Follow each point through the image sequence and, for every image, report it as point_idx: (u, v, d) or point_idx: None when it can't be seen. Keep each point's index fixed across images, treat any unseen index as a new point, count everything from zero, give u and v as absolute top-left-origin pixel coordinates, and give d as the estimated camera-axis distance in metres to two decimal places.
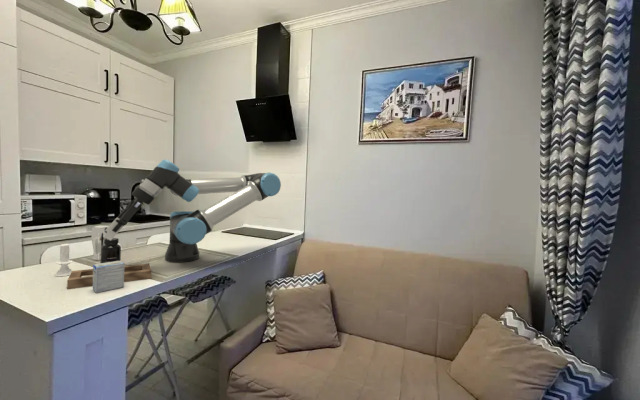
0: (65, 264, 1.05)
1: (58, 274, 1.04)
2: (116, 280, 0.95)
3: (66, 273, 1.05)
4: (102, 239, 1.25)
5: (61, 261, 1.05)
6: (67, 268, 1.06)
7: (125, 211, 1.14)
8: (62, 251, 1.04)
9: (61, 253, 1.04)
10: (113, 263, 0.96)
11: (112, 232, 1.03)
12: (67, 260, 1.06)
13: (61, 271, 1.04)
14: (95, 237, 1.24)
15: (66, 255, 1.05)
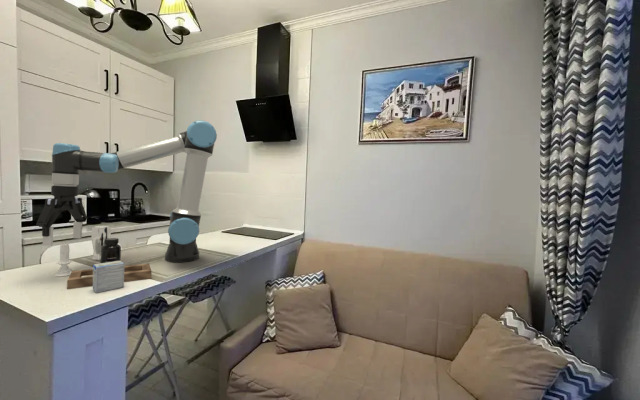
0: (65, 264, 1.05)
1: (58, 274, 1.04)
2: (116, 280, 0.95)
3: (66, 273, 1.05)
4: (102, 239, 1.25)
5: (61, 261, 1.05)
6: (67, 268, 1.06)
7: (71, 213, 1.09)
8: (62, 251, 1.04)
9: (61, 253, 1.04)
10: (113, 263, 0.96)
11: (46, 237, 0.98)
12: (67, 260, 1.06)
13: (61, 271, 1.04)
14: (95, 237, 1.24)
15: (66, 255, 1.05)
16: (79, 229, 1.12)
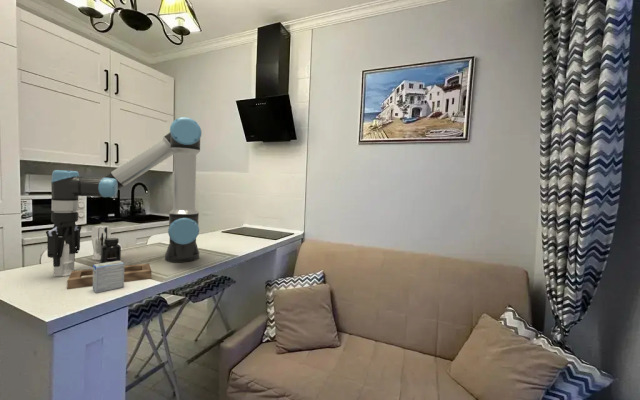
0: (65, 264, 1.05)
1: None
2: (116, 280, 0.95)
3: (66, 273, 1.05)
4: (102, 239, 1.25)
5: None
6: (67, 268, 1.06)
7: (66, 241, 1.07)
8: None
9: None
10: (113, 263, 0.96)
11: (57, 267, 1.03)
12: (67, 260, 1.06)
13: None
14: (95, 237, 1.24)
15: (66, 255, 1.05)
16: None
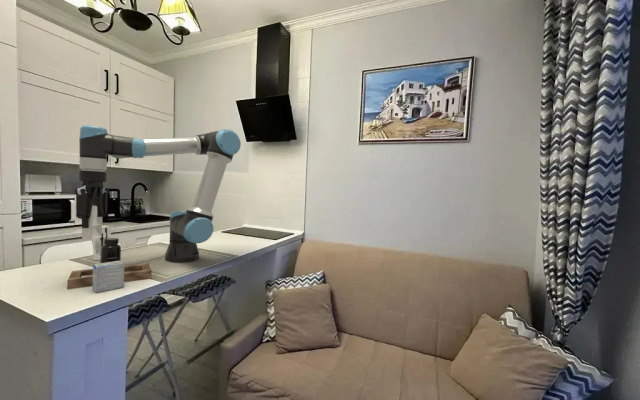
0: (93, 226, 0.99)
1: (86, 237, 0.98)
2: (116, 280, 0.95)
3: (94, 236, 0.99)
4: (102, 239, 1.25)
5: None
6: (95, 231, 1.00)
7: (94, 203, 1.01)
8: None
9: None
10: (113, 263, 0.96)
11: (86, 229, 0.97)
12: (95, 222, 1.00)
13: None
14: None
15: (94, 217, 0.99)
16: None
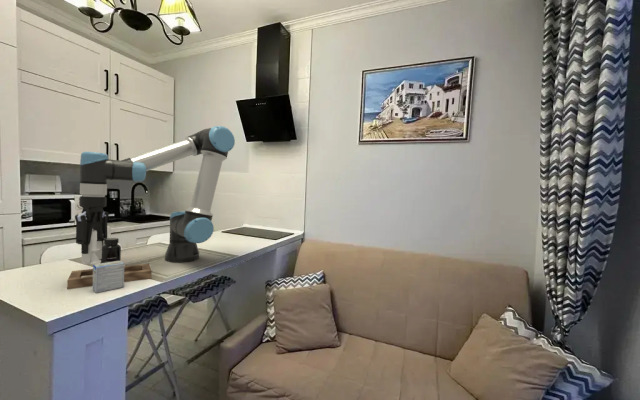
0: (93, 251, 0.99)
1: None
2: (116, 280, 0.95)
3: (94, 261, 0.99)
4: None
5: None
6: (95, 256, 1.00)
7: (94, 227, 1.02)
8: None
9: None
10: (113, 263, 0.96)
11: (85, 255, 0.97)
12: (95, 247, 1.00)
13: None
14: None
15: (94, 242, 0.99)
16: None
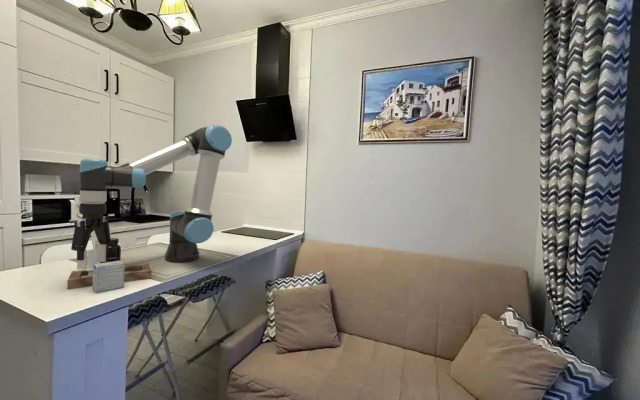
0: None
1: None
2: (116, 280, 0.95)
3: None
4: None
5: (89, 267, 0.99)
6: None
7: (96, 233, 1.03)
8: (90, 257, 0.99)
9: (89, 259, 0.99)
10: (113, 263, 0.96)
11: (81, 261, 0.95)
12: None
13: None
14: (95, 237, 1.24)
15: (94, 261, 1.00)
16: (103, 252, 1.05)
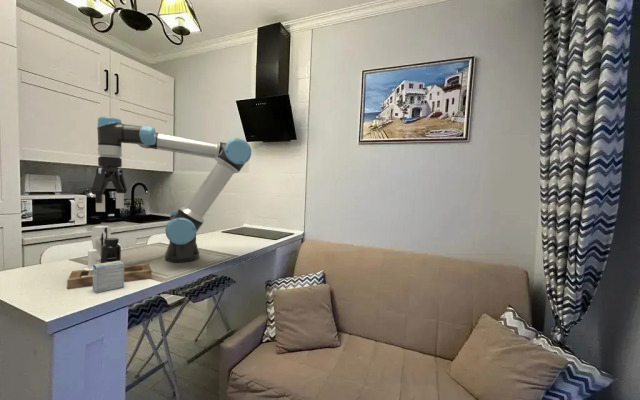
0: None
1: None
2: (116, 280, 0.95)
3: None
4: (102, 239, 1.25)
5: (89, 267, 0.99)
6: None
7: (114, 184, 1.16)
8: (90, 257, 0.99)
9: (89, 259, 0.99)
10: (113, 263, 0.96)
11: (99, 204, 1.05)
12: None
13: None
14: (95, 237, 1.24)
15: (94, 261, 1.00)
16: (121, 199, 1.19)
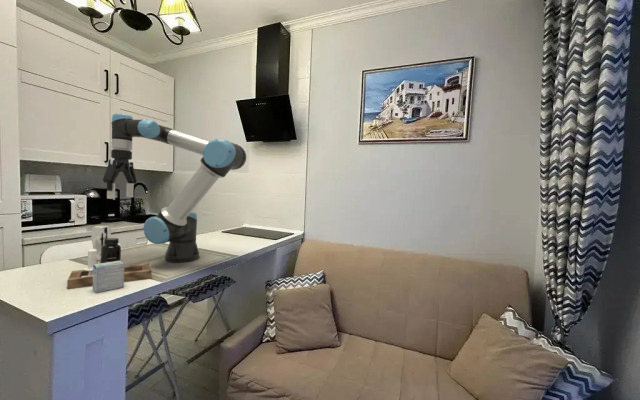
0: None
1: None
2: (116, 280, 0.95)
3: None
4: (102, 239, 1.25)
5: (89, 267, 0.99)
6: None
7: (125, 174, 1.28)
8: (90, 257, 0.99)
9: (89, 259, 0.99)
10: (113, 263, 0.96)
11: (110, 192, 1.17)
12: None
13: None
14: (95, 237, 1.24)
15: (94, 261, 1.00)
16: (131, 189, 1.31)
